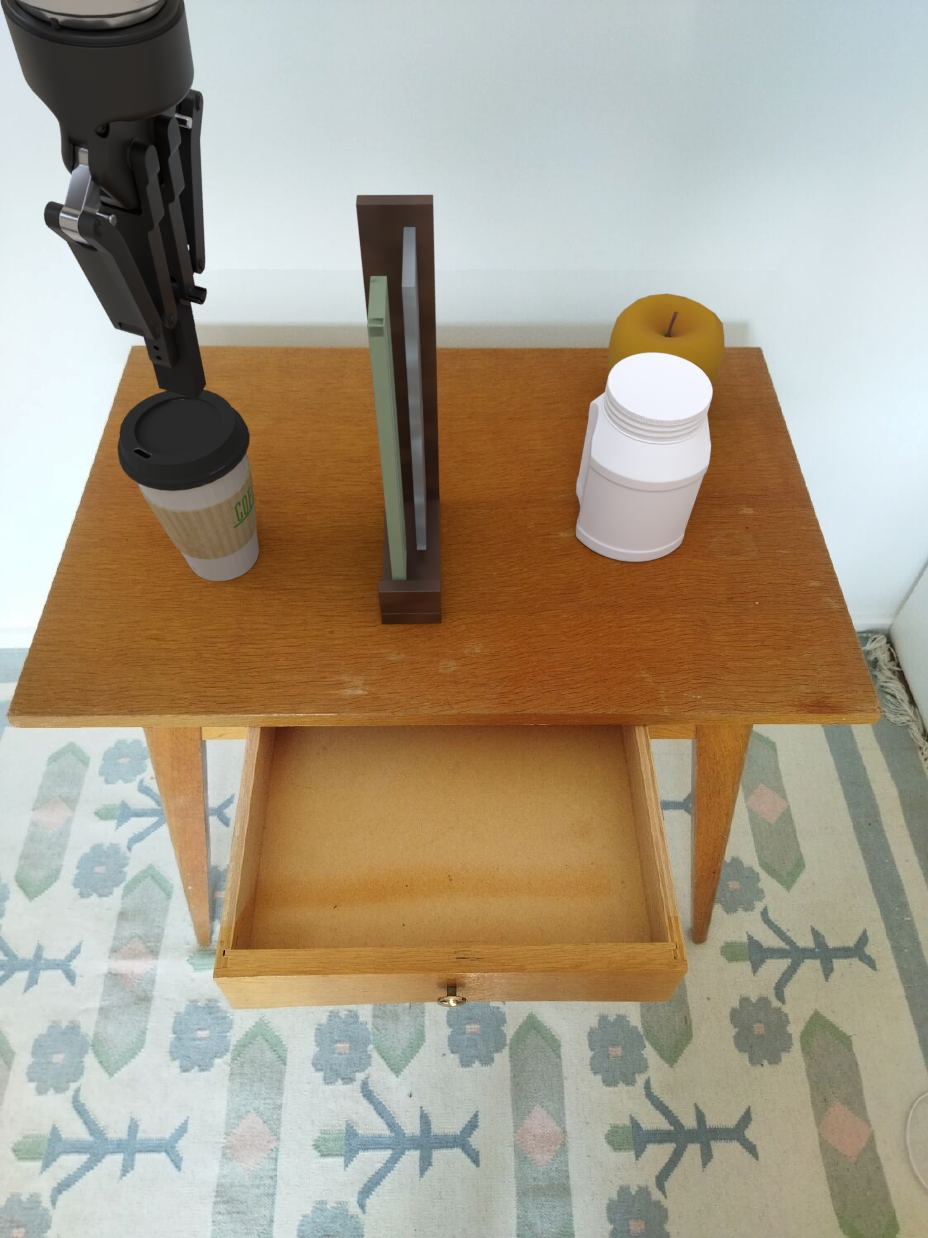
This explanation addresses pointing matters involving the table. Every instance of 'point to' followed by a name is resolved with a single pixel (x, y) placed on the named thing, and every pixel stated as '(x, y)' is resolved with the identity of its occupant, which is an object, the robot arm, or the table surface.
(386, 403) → the window sash
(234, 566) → the coffee cup
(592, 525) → the jar
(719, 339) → the apple
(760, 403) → the table surface
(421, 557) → the window frame
